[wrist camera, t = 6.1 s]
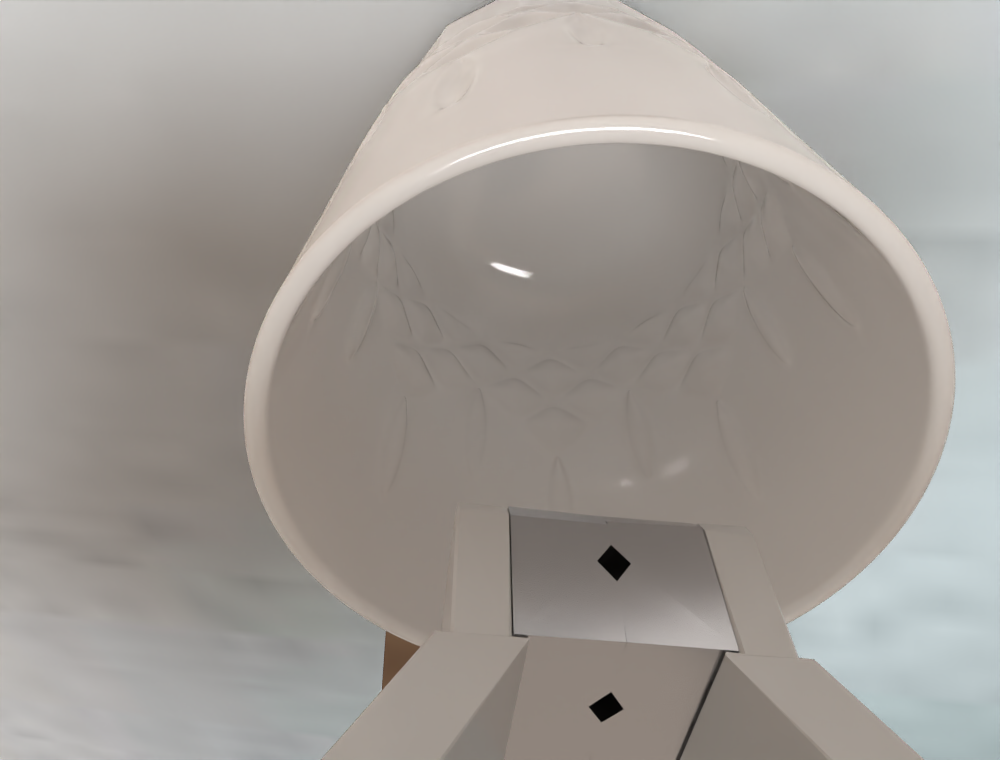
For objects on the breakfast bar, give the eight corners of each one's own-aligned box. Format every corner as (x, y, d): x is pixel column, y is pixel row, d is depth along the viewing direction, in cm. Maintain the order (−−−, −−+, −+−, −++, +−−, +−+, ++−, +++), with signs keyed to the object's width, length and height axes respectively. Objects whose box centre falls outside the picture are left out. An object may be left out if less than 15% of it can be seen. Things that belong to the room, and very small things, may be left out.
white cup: (377, 315, 20) (291, 676, 12) (347, -54, 15) (172, 111, 7) (706, 319, 20) (851, 681, 12) (773, -48, 15) (1083, 124, 7)
